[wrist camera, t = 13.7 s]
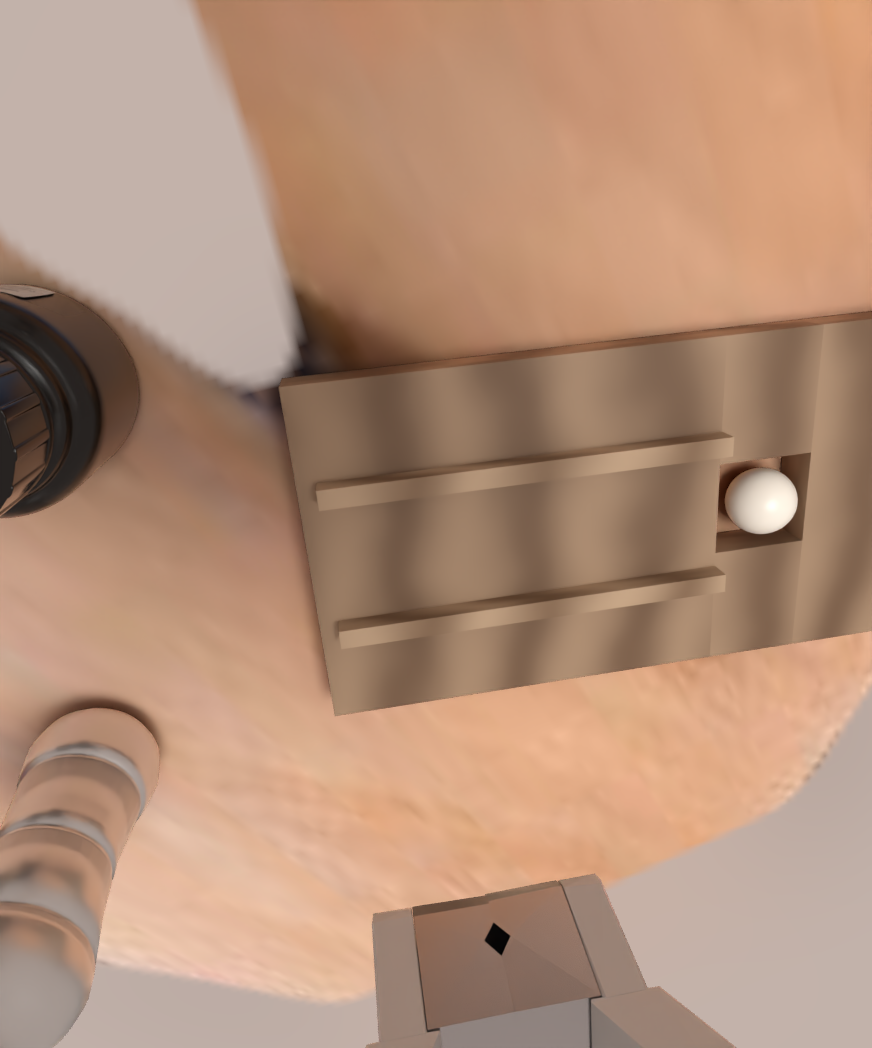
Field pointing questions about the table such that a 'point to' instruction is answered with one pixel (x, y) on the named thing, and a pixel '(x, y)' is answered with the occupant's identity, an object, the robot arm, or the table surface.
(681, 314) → the table surface
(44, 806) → the plastic bottle
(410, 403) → the board
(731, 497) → the ball
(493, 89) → the table surface
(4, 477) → the ink bottle
